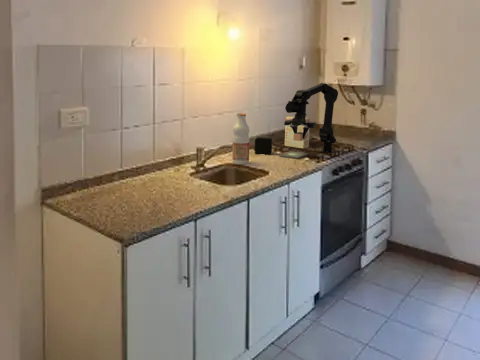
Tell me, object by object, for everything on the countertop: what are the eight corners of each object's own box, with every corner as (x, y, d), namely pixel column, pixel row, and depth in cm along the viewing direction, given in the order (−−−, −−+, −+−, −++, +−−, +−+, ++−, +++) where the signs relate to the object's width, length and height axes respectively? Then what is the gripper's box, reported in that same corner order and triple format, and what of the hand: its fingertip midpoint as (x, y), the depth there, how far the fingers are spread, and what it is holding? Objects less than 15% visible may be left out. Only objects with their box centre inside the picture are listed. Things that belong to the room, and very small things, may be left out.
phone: (298, 138, 323) (299, 131, 322) (305, 139, 321) (306, 132, 320) (293, 140, 316) (293, 133, 315) (300, 141, 314) (300, 134, 313)
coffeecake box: (309, 147, 351) (310, 117, 346) (303, 148, 345) (304, 118, 341) (290, 144, 360) (291, 115, 355) (284, 145, 354) (285, 116, 350)
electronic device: (270, 155, 324) (271, 138, 321) (254, 154, 326) (254, 138, 323) (271, 153, 328) (272, 137, 325) (255, 152, 330) (256, 137, 327)
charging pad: (290, 152, 332) (290, 151, 331) (308, 155, 326) (308, 153, 325) (279, 156, 319) (279, 155, 319) (297, 159, 313) (297, 157, 313)
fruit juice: (229, 162, 302) (229, 113, 295) (242, 160, 307) (243, 112, 300) (238, 165, 294) (239, 115, 287) (252, 163, 300) (253, 114, 293)
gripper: (280, 112, 312) (279, 138, 316) (310, 114, 303) (308, 141, 307) (288, 110, 322) (287, 135, 325) (317, 112, 313) (316, 139, 316)
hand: (299, 138), depth 318 cm, fingers closed on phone, 4 cm apart
